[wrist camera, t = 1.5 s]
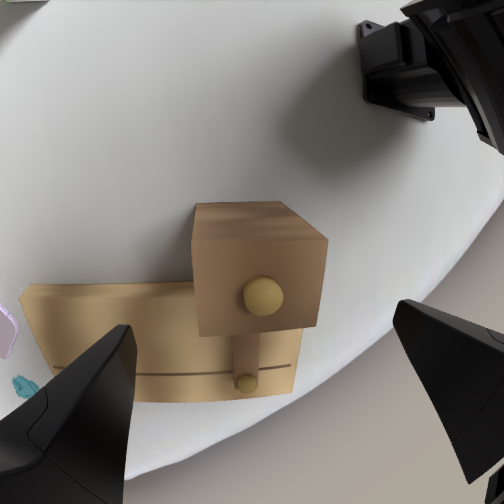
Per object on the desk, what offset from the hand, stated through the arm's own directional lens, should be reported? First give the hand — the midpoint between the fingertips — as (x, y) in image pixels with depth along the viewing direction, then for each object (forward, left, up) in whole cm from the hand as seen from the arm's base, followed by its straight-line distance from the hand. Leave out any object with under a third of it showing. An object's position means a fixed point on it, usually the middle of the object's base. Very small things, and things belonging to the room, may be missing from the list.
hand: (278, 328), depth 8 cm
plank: (+6, +8, -9) cm, 14 cm away
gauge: (0, +4, -9) cm, 10 cm away
